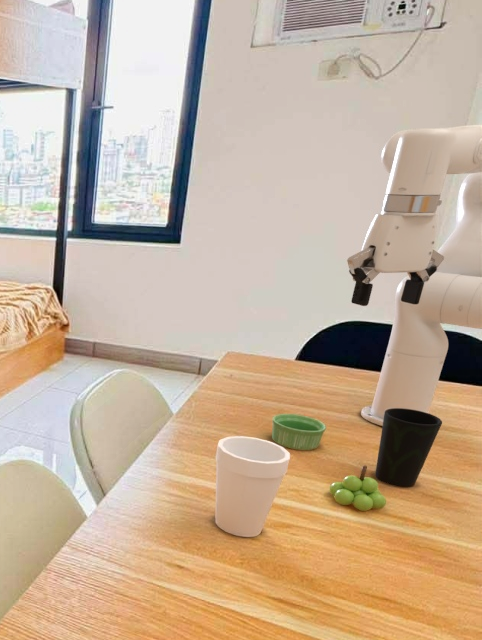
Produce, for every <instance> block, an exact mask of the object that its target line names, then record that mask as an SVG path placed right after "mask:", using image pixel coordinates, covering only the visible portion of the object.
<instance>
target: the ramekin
mask: <svg viewBox="0 0 482 640" xmlns="http://www.w3.org/2000/svg"><path fill="white" fill-rule="evenodd" d="M326 429H327V426H326V424H325V423H324V422H322V421H321V420H319V419H317V418H314V417H311V416H307V415H302V414H296V413H280V414H276V415H274V416H273V417H272V431H271V439H272V440H273V442H274V443H275V444H277V445H279V446H282V447H284V448H288V449H291V450H298V451H312V450H316V449H317V448H318V447H320V444H321V441H322V438H323V435H324V433H325V431H326Z"/></svg>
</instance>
